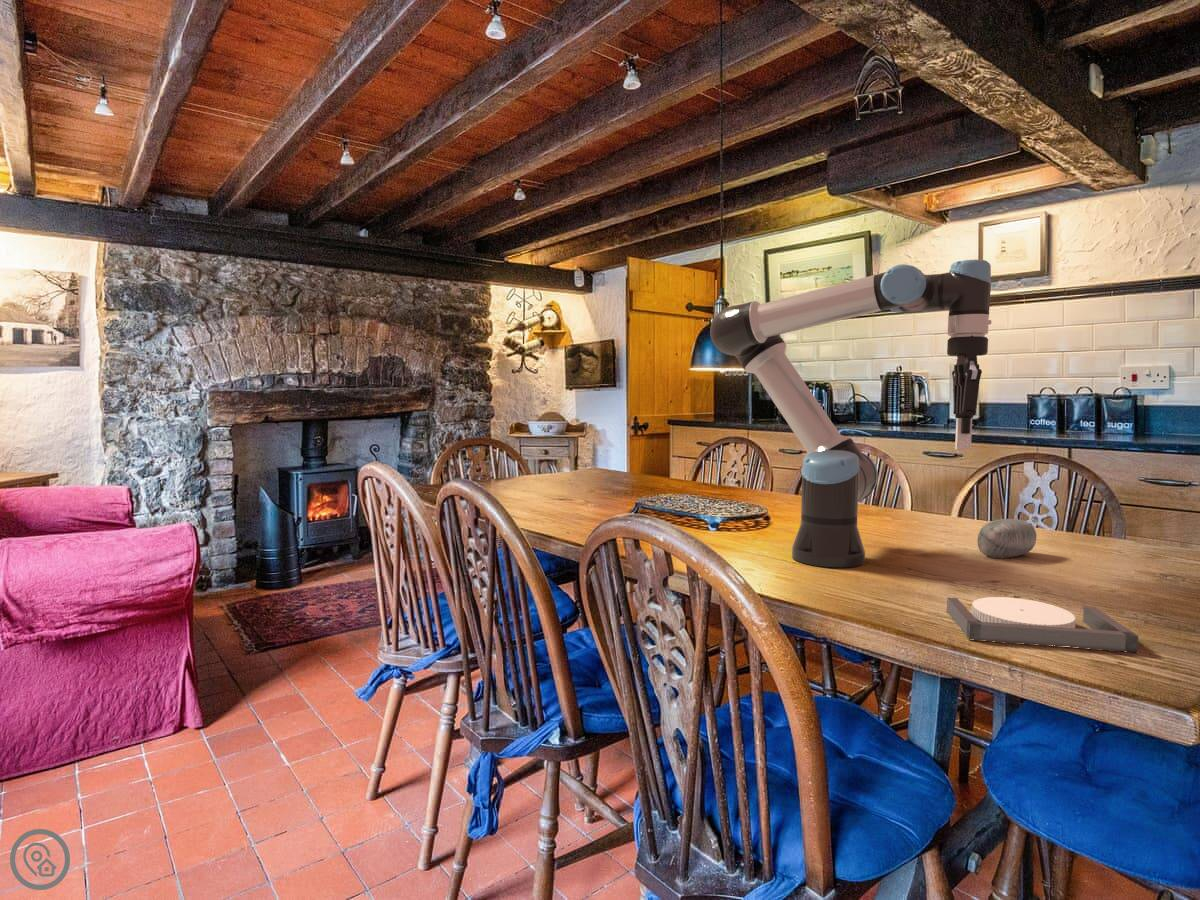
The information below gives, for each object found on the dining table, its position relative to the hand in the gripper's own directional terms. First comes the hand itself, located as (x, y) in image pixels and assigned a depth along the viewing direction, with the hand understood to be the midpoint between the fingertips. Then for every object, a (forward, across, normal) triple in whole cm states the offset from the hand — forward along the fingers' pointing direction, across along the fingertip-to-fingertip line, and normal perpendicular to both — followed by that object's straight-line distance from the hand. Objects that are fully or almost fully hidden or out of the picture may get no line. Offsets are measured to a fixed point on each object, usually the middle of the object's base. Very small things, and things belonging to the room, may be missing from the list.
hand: (962, 448), depth 147 cm
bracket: (+24, -44, 0) cm, 50 cm away
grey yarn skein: (+25, +9, -12) cm, 29 cm away
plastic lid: (+25, -41, +1) cm, 48 cm away
